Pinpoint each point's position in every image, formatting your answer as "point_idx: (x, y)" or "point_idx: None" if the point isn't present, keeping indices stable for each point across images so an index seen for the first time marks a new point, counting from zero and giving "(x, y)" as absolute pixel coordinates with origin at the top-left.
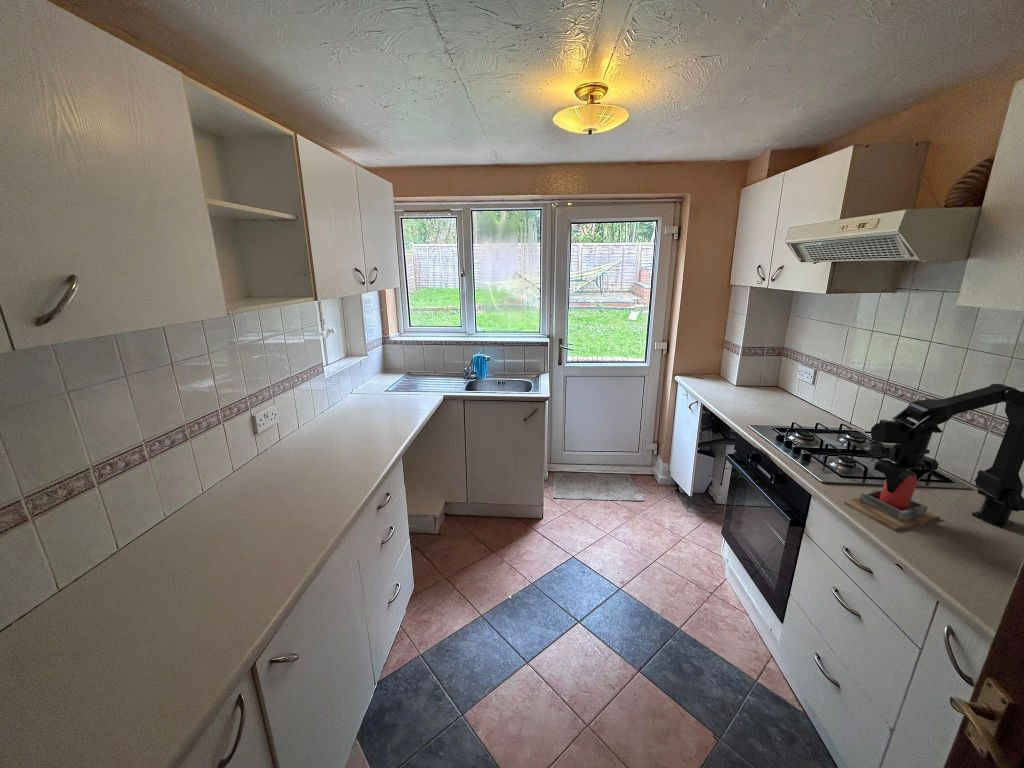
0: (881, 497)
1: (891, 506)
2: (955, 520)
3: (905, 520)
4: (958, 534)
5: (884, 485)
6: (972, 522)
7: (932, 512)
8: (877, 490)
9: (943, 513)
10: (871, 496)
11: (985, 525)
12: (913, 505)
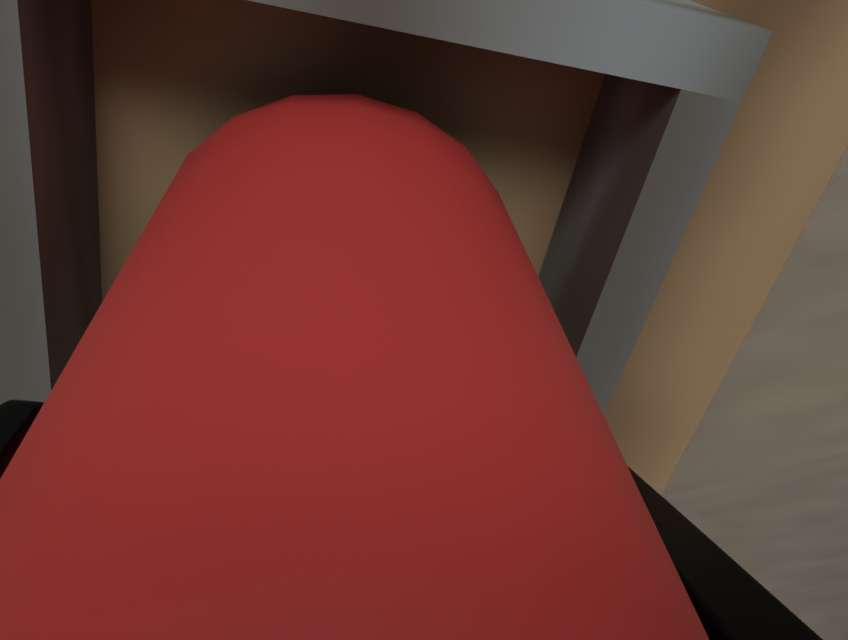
0: (173, 185)
1: (32, 378)
2: (721, 535)
3: None
4: None
5: (131, 304)
6: (791, 584)
7: (669, 462)
8: (453, 3)
9: (797, 463)
10: (6, 54)
11: (809, 622)
12: None
